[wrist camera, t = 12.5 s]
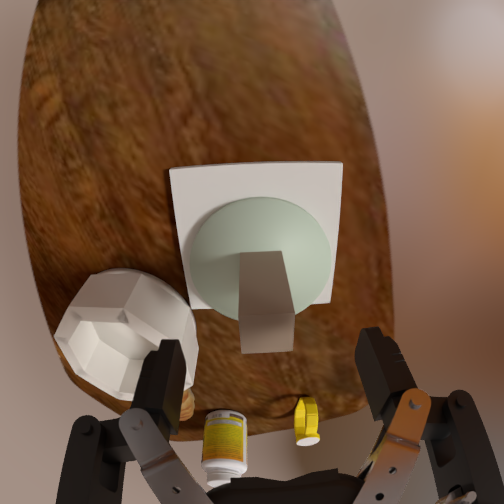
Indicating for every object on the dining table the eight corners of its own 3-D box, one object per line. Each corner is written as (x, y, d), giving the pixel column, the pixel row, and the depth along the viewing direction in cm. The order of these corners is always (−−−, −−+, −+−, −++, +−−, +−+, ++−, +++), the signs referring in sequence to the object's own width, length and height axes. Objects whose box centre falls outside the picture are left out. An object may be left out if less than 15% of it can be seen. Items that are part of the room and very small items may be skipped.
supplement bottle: (198, 410, 34) (191, 479, 25) (238, 405, 33) (237, 477, 24) (215, 428, 37) (211, 490, 28) (252, 423, 36) (253, 488, 27)
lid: (182, 201, 20) (151, 253, 14) (333, 194, 20) (375, 243, 13) (201, 318, 25) (189, 390, 19) (322, 313, 25) (344, 381, 19)
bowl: (66, 269, 24) (37, 304, 19) (185, 265, 24) (171, 308, 19) (104, 358, 29) (89, 394, 24) (205, 363, 29) (199, 406, 24)
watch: (307, 411, 35) (312, 449, 30) (287, 412, 35) (290, 450, 30) (319, 389, 32) (327, 432, 27) (297, 390, 32) (302, 434, 27)
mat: (171, 167, 20) (169, 169, 19) (340, 161, 20) (342, 163, 19) (192, 304, 25) (191, 308, 25) (328, 298, 25) (329, 302, 25)
